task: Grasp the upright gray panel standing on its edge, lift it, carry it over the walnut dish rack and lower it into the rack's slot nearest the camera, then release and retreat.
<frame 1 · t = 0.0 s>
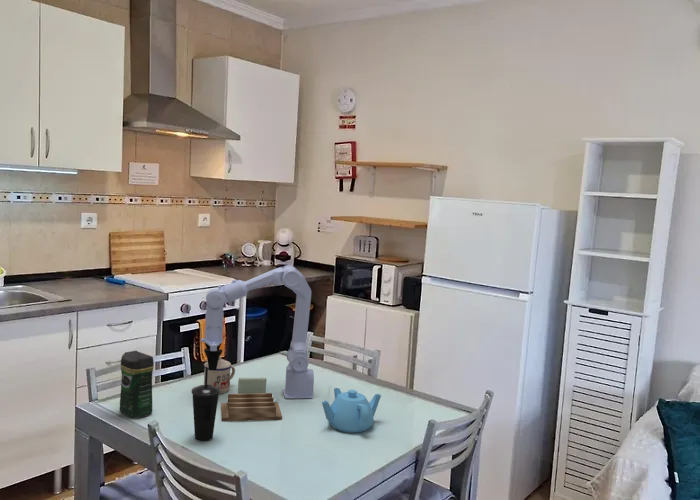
hand: (212, 366, 196), 10 cm above the table, fingers open, 7 cm apart
beige mug: (220, 389, 205), on the table, touching gripper
coffee jar: (135, 413, 179), on the table
upright gray panel: (251, 399, 197), on the table
drinking cup: (203, 438, 166), on the table
walnut rack: (250, 412, 185), on the table
teapot: (349, 425, 181), on the table
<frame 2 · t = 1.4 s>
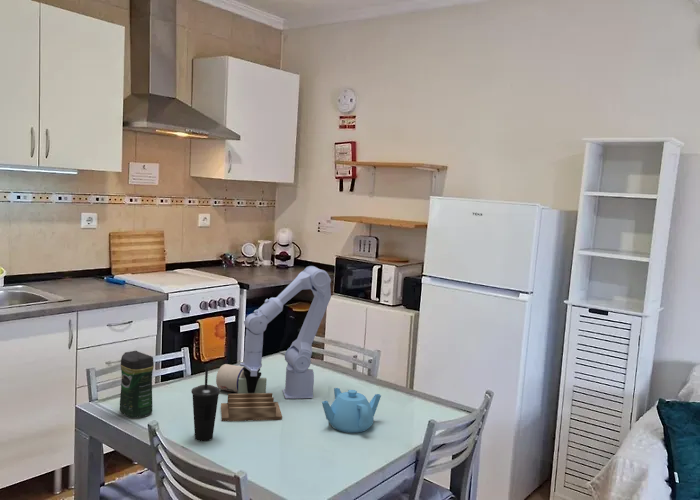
hand: (250, 390, 197), 3 cm above the table, fingers open, 3 cm apart
beige mug: (224, 376, 206), point 4 cm above the table, touching gripper
everything else where it was.
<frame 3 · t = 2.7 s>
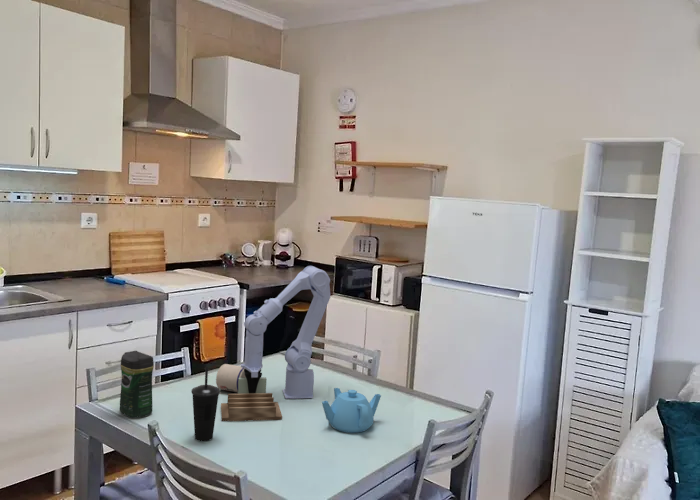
hand: (251, 391, 197), 2 cm above the table, fingers closed on upright gray panel, 2 cm apart
beige mug: (224, 376, 206), point 4 cm above the table
upright gray panel: (251, 398, 197), on the table, touching gripper
everything else where it was.
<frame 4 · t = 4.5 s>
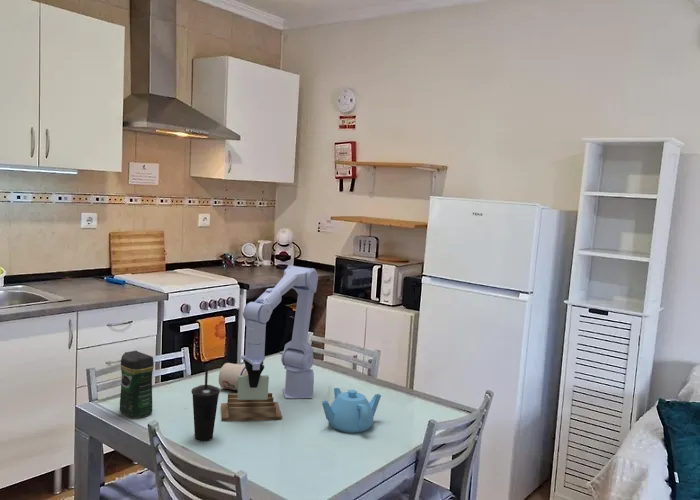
hand: (253, 386, 181), 10 cm above the table, fingers closed on upright gray panel
beige mug: (226, 376, 207), point 4 cm above the table
upright gray panel: (252, 398, 181), point 6 cm above the table, touching gripper
everything else where it was.
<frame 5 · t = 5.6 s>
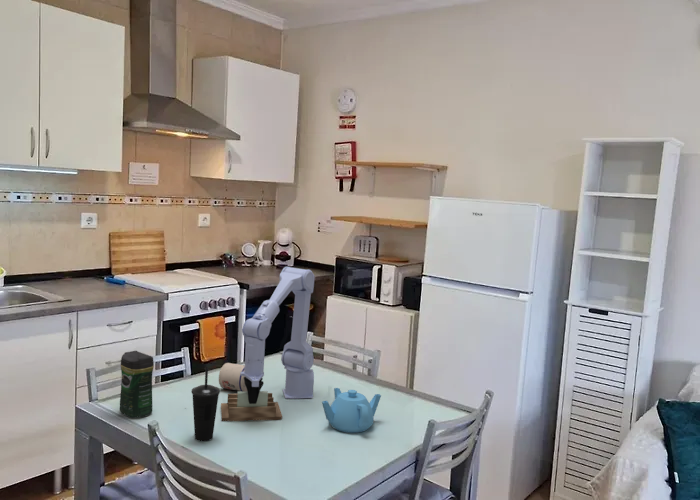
hand: (252, 402, 181), 5 cm above the table, fingers closed on upright gray panel, 2 cm apart
upright gray panel: (251, 414, 181), point 1 cm above the table, touching gripper, walnut rack
everything else where it was.
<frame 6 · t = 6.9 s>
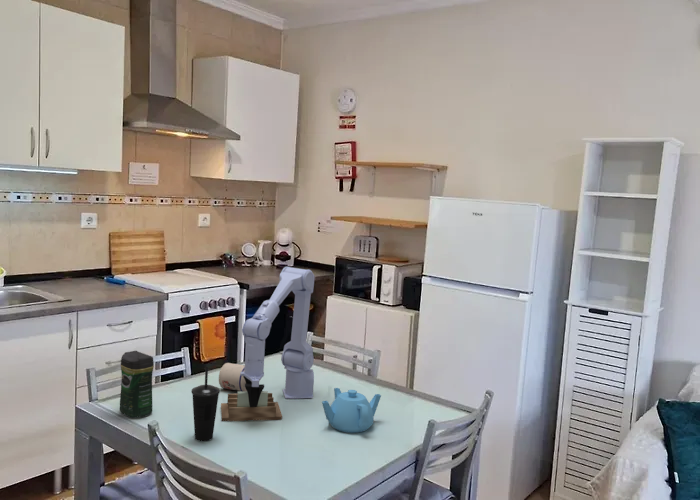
hand: (252, 402, 181), 5 cm above the table, fingers open, 7 cm apart
upright gray panel: (251, 414, 181), point 1 cm above the table, touching walnut rack
everything else where it was.
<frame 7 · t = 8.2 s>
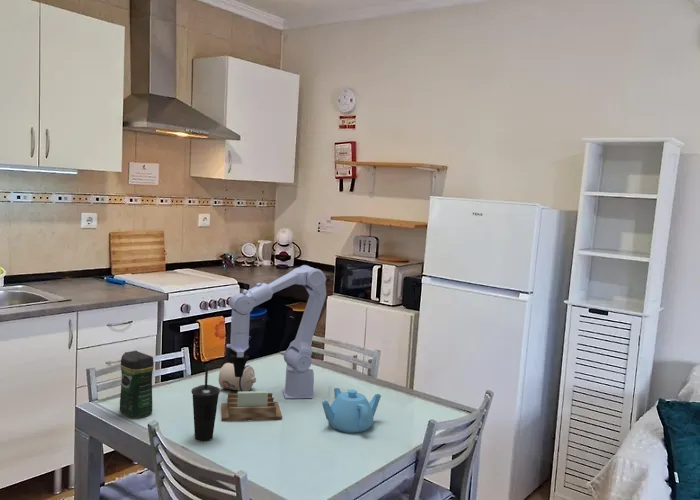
hand: (238, 372, 192), 10 cm above the table, fingers open, 7 cm apart
nothing on the table moved.
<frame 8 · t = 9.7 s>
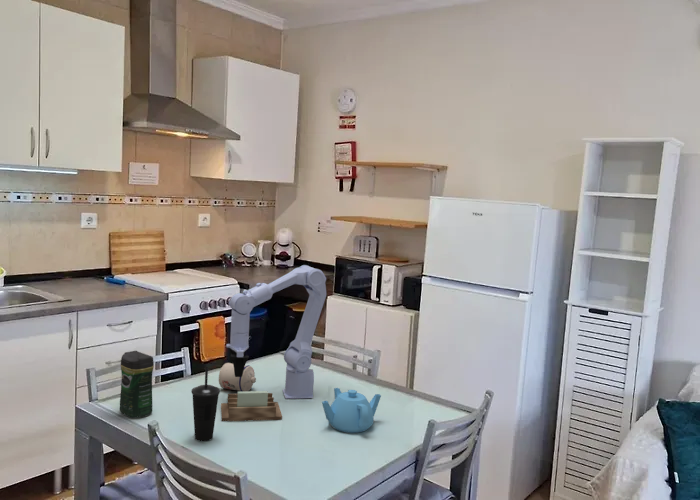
hand: (237, 372, 192), 10 cm above the table, fingers open, 7 cm apart
nothing on the table moved.
at the end: upright gray panel inside the target area on the walnut rack (0.1 cm from its centre), point 1.0 cm above the walnut rack's base; upright gray panel tilted 0°; the gripper is holding nothing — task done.
